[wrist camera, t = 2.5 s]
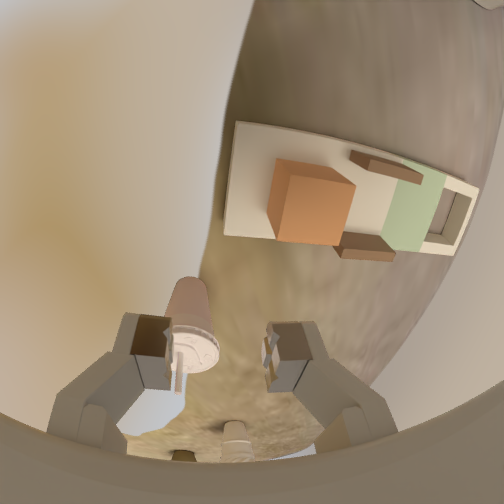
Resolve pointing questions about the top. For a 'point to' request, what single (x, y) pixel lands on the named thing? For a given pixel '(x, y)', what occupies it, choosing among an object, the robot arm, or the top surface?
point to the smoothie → (191, 329)
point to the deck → (365, 197)
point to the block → (308, 203)
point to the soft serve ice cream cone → (236, 444)
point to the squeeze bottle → (183, 456)
